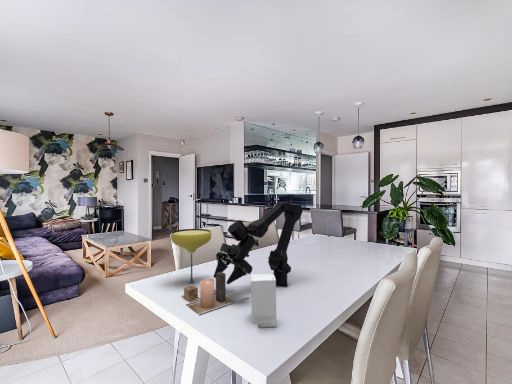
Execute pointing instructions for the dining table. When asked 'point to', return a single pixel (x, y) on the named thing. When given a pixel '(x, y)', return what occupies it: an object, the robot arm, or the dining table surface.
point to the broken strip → (196, 298)
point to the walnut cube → (190, 292)
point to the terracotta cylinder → (207, 293)
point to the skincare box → (263, 300)
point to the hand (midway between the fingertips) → (220, 280)
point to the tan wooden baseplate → (220, 295)
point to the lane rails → (219, 307)
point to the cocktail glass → (191, 241)
